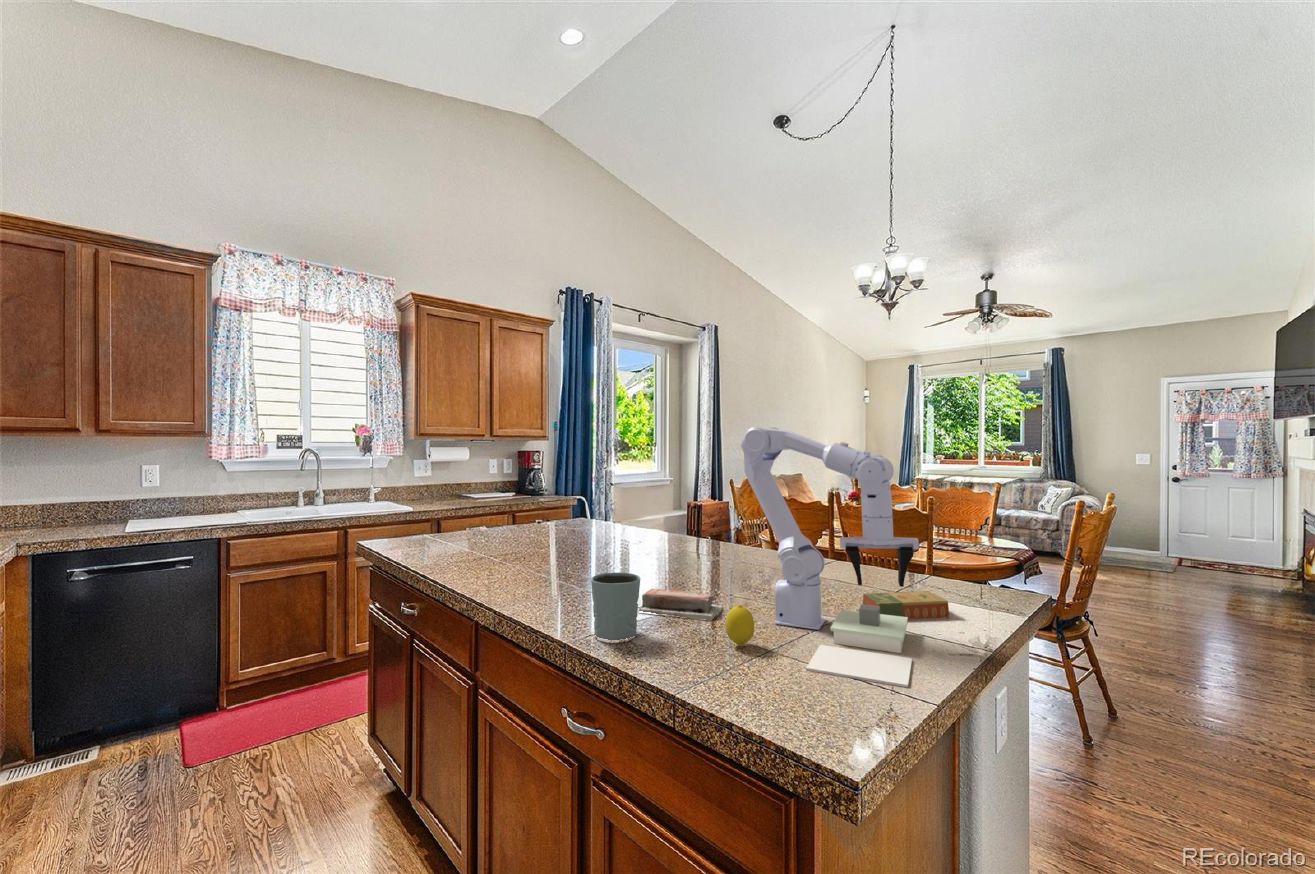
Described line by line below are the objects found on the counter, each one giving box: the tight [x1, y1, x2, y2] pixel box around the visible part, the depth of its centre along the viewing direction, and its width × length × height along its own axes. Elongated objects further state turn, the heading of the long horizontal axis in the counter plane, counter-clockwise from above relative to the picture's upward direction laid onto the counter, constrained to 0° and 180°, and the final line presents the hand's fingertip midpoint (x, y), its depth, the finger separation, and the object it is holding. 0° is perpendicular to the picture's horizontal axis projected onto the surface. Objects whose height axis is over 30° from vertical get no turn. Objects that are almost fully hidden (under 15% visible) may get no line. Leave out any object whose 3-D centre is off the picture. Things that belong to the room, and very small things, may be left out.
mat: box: [805, 644, 913, 688], centre depth 97 cm, size 16×12×1 cm
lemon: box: [725, 604, 755, 647], centre depth 107 cm, size 6×6×8 cm
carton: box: [862, 590, 950, 620], centre depth 126 cm, size 8×16×4 cm, turn 92°
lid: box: [830, 603, 909, 641], centre depth 110 cm, size 13×13×4 cm
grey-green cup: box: [590, 572, 641, 640], centre depth 114 cm, size 10×10×12 cm
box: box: [833, 631, 906, 654], centre depth 110 cm, size 12×12×2 cm
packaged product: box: [638, 588, 724, 620], centre depth 130 cm, size 18×5×10 cm
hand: (880, 584), depth 110 cm, fingers open, 7 cm apart
